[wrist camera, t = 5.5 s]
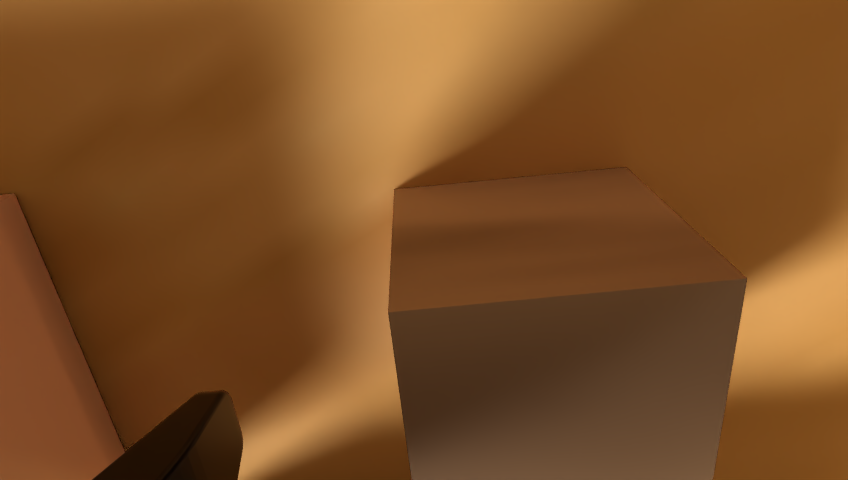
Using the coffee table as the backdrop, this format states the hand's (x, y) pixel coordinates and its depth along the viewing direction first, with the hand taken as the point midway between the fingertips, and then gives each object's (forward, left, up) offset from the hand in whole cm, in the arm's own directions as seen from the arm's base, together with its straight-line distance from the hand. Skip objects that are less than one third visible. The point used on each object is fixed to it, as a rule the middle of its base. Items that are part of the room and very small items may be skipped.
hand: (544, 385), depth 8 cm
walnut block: (0, 0, -3) cm, 3 cm away
